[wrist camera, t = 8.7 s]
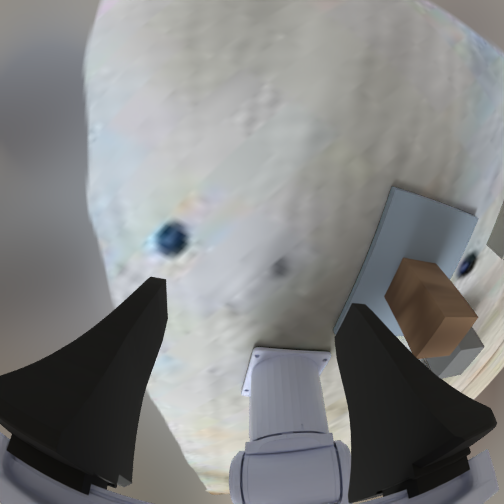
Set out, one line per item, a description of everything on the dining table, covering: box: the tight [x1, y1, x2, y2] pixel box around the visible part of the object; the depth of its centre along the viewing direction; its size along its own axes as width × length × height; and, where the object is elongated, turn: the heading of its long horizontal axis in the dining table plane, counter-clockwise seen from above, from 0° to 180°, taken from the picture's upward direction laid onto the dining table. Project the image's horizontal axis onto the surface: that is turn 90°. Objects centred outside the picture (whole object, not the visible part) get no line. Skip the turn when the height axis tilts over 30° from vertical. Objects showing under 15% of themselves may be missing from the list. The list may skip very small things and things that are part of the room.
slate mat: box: [333, 186, 478, 336], centre depth 21 cm, size 14×10×1 cm
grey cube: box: [426, 327, 484, 379], centre depth 23 cm, size 5×5×5 cm
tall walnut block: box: [384, 258, 478, 359], centre depth 17 cm, size 4×4×7 cm
